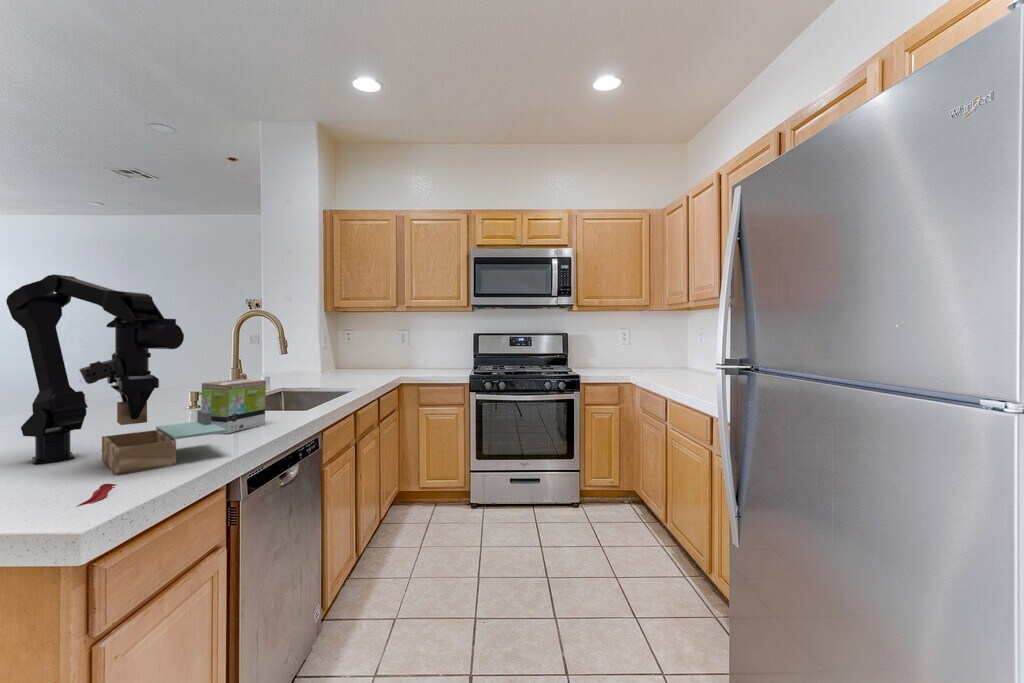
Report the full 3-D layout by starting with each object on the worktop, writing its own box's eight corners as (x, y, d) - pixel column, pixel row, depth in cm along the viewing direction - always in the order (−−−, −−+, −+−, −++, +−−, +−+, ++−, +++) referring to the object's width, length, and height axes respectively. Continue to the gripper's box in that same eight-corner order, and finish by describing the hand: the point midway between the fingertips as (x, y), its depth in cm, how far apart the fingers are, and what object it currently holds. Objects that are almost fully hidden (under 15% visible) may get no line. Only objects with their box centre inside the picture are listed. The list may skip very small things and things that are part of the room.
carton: (101, 460, 104) (101, 436, 104) (158, 451, 112) (158, 429, 112) (115, 475, 94) (114, 449, 94) (176, 465, 102) (176, 440, 102)
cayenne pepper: (86, 510, 77) (86, 498, 77) (56, 510, 77) (56, 499, 77) (137, 486, 89) (137, 476, 89) (112, 486, 89) (112, 476, 89)
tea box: (228, 434, 132) (228, 383, 132) (199, 432, 134) (199, 382, 134) (266, 424, 147) (266, 378, 146) (239, 423, 149) (239, 377, 148)
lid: (156, 428, 112) (156, 414, 112) (205, 422, 120) (205, 409, 120) (173, 439, 101) (173, 423, 101) (226, 432, 109) (226, 417, 109)
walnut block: (142, 419, 105) (142, 400, 105) (147, 422, 102) (147, 402, 102) (117, 422, 102) (117, 402, 102) (121, 425, 99) (121, 404, 99)
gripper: (77, 347, 102) (77, 416, 102) (89, 350, 90) (89, 429, 90) (140, 346, 110) (140, 410, 111) (159, 349, 98) (159, 421, 98)
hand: (132, 417), depth 102 cm, fingers closed on walnut block, 4 cm apart
